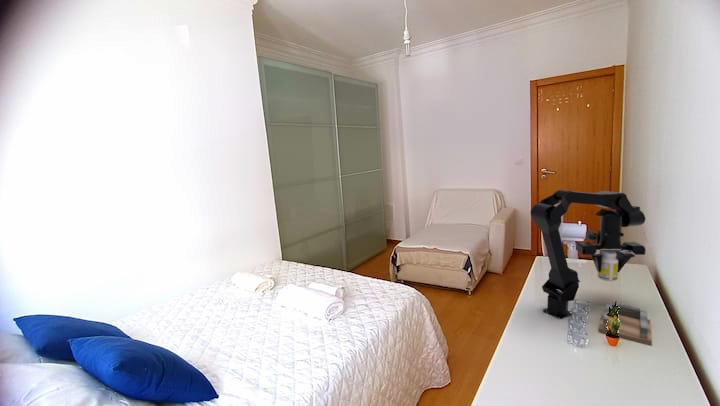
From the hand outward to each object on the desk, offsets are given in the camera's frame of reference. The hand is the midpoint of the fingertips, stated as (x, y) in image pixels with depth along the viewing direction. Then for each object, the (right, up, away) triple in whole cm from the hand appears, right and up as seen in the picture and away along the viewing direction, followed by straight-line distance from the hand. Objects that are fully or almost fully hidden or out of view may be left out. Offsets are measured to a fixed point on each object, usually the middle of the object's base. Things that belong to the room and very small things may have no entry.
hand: (607, 271), depth 111 cm
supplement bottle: (0, -3, 0) cm, 3 cm away
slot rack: (-4, -15, -12) cm, 19 cm away
